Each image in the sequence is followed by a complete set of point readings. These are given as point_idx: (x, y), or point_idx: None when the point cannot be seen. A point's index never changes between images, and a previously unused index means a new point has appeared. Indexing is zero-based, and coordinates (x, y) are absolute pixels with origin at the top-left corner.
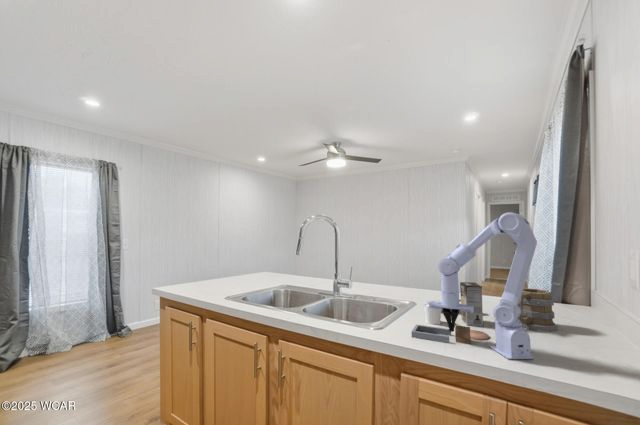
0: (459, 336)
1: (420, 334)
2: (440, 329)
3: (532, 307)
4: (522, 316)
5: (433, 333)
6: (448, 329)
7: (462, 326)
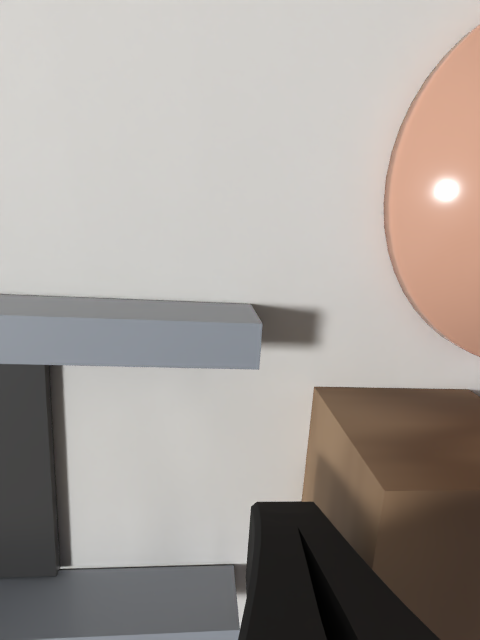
0: None
1: None
2: (89, 361)
3: None
4: None
5: (8, 392)
6: (220, 349)
7: None
